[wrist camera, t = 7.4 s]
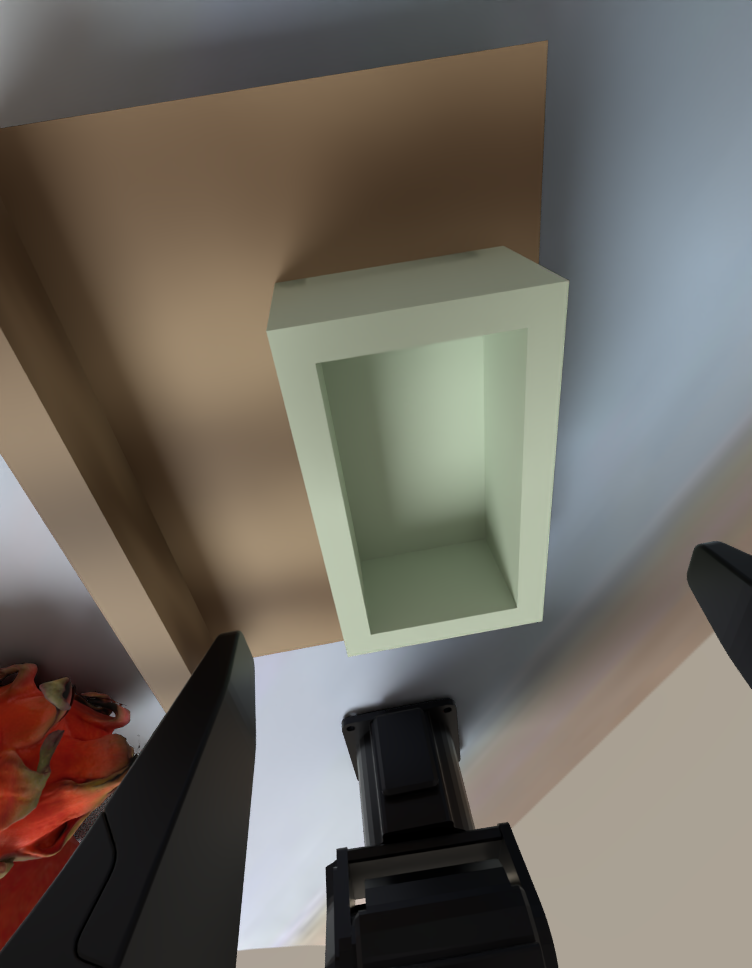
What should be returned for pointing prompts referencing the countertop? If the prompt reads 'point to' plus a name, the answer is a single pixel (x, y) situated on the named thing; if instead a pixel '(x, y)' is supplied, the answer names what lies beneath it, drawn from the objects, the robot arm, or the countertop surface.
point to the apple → (28, 887)
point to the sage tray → (426, 438)
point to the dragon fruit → (54, 762)
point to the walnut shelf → (224, 319)
